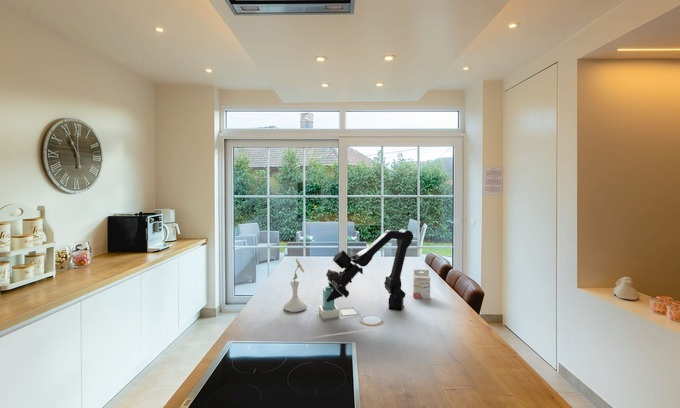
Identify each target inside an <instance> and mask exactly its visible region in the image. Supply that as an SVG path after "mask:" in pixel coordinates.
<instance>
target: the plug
mask: <svg viewBox="0 0 680 408" xmlns="http://www.w3.org/2000/svg"><path fill="white" fill-rule="evenodd" d="M332 291H333V288H331V287H329V286H326V287H325V288H322V305H323V309H324V310H333V309H335V306H334V304H335V299H334V300H332V301H330V302H327V301H326V300H327V299H328V297H329V296H330V294H331V293H332Z"/></svg>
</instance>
